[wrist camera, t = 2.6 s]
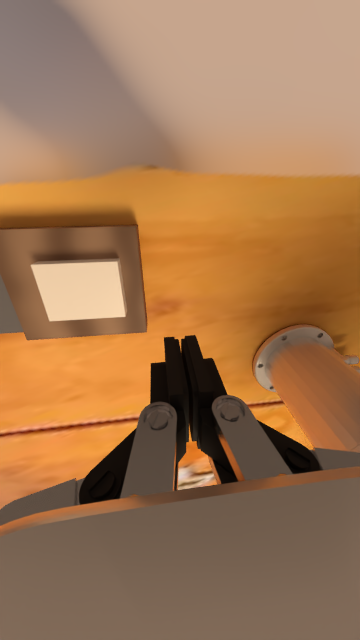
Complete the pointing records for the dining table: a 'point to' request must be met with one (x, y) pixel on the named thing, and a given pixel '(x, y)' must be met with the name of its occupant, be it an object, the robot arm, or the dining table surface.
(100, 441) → the dining table surface
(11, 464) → the dining table surface
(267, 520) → the robot arm
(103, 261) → the tile
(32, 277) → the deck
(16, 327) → the mat
